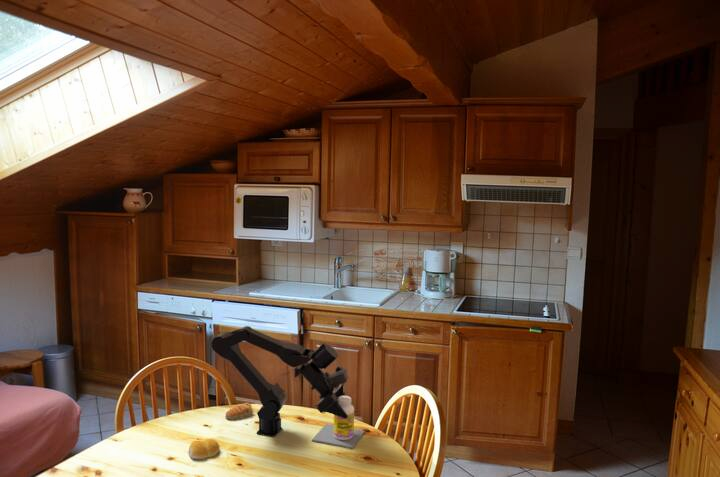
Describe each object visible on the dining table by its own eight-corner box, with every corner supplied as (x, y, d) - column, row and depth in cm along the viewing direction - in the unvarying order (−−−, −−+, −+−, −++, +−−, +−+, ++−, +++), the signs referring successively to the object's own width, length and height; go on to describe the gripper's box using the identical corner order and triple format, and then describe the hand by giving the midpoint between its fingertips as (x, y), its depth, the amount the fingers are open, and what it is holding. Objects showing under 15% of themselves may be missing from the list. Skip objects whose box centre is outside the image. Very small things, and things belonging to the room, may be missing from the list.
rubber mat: (311, 441, 168) (311, 439, 168) (326, 425, 179) (326, 423, 179) (352, 449, 163) (352, 447, 163) (364, 432, 175) (364, 430, 175)
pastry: (231, 423, 180) (231, 412, 180) (221, 416, 185) (221, 406, 185) (254, 415, 187) (254, 405, 186) (244, 409, 192) (244, 399, 191)
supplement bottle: (334, 441, 167) (334, 403, 165) (332, 431, 173) (333, 394, 172) (354, 440, 167) (355, 402, 166) (352, 431, 174) (353, 394, 173)
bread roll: (222, 454, 159) (222, 442, 159) (193, 463, 154) (192, 450, 154) (214, 443, 166) (213, 431, 165) (185, 451, 161) (185, 438, 160)
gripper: (327, 371, 159) (362, 409, 159) (338, 352, 178) (369, 386, 177) (302, 394, 161) (336, 431, 161) (315, 373, 180) (346, 406, 179)
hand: (348, 412), depth 170 cm, fingers open, 8 cm apart
